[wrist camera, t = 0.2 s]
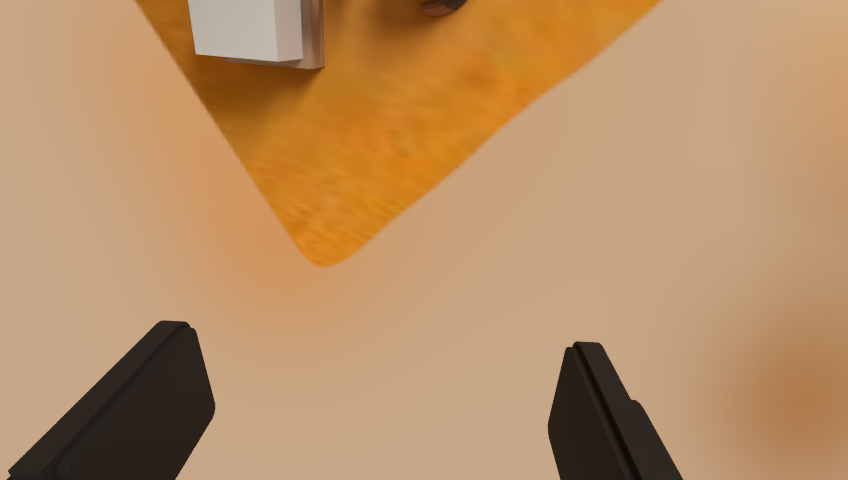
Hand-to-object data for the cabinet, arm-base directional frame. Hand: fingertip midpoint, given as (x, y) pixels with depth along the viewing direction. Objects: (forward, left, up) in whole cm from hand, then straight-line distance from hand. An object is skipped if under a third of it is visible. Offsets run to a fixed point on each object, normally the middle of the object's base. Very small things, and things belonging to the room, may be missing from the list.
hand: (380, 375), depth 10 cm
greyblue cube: (-9, -13, -27) cm, 31 cm away
